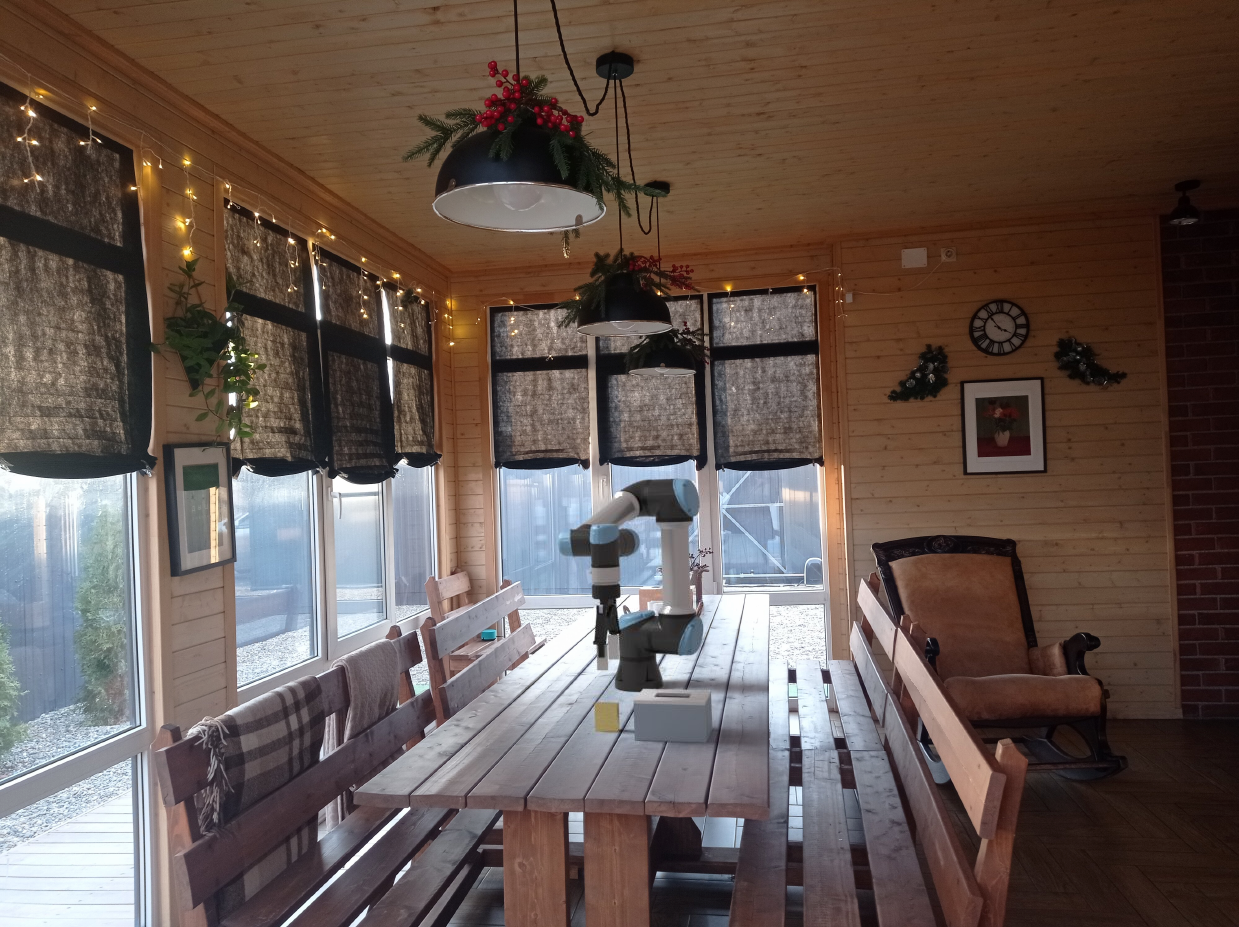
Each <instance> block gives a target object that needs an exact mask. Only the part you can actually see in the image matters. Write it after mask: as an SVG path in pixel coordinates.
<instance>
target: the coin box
mask: <svg viewBox="0 0 1239 927" xmlns="http://www.w3.org/2000/svg"><path fill="white" fill-rule="evenodd" d="M632 702H633V724H634V728H633V729H634V730H633V732H634V741H646V742H648V741H649V742H673V743H674V742H675V743H676V742H677V743H678V742H679V743H700V744H701V743H704V744H707V742H708V739H709V738H710V735H711V733H712V730H713V708H712V690H709V689H708V690H706V689H704V690H703V689H698V690H697V689H670V688H669V689H668V688H666V689H662V688H658V689H643V690H642V691H639V693H638V695H636V697H635V698H634V699H633V701H632Z"/></svg>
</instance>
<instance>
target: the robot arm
mask: <svg viewBox="0 0 1239 927" xmlns="http://www.w3.org/2000/svg"><path fill="white" fill-rule="evenodd" d="M700 505H701V503H700V496H699V492H698V490H697V487H696V485H695V483H694V482H693V480H690V479H688V478H678V477H676V478H660V479H658V478H657V479H656V478H655V479H651V478H649V479H643V480H639V481H635V482H633V483H632V484H629V485H627V486H626V487H623V488H622V489H620V490H619V491H618V492H616V493H615V494H614V495H613V496H612V498H611V501H610V502H609V503H607V505H604V507H602V508H601V509H600V510H598V511H597V512H596V513H595V514H593V515H592V516H591V517H589V518H588V519H587V520H585V522H584V523H582V524H581V525H580V526H578V527H576V528H575V529H573V528H569V529H564V530H562V531H561V532H560V533H559V534H558V537H557V538H558V539H557V547H558V550H559V554H561V555H562V556H564V557H572V558H575V557H577V558H578V557H579V558H582V557H585V558H586V557H589V558H590V567H591V569H590V570H589V574H590V575H591V582H592V583H593V584H592V585H591V597H592V599H593V600H599V604H596V606H595V609H596V610H595V612H596V613H595V616H596V617H595V628H594V640H593V641H592V644H593V646H594V645H595V646H596V670H597V671H609V660H619V662H618V666H617V670H616V674H615V677H614V687H615V689H618V690H621V691H627V692H641V691H642V690H643V689H656V688H658V689H661V688H662V687H663V685H664V683H663V676H662V672H661V669H660V668H659V667H660V666H659V665H658V660H657V655H674V656H679V657H682V656H693V655H694V654H696V653H698V651H699V649H700V647H701V644H702V642H703V641H702V640H703V637H704V636H703V635H704V622H703V620H702V618H701V617H699V616H697V611H696V609H695V608H694V606H692V604H691V602H692V601H691V569H690V538H689V537H690V535H689V534H690V532H689V528H690V527H691V525H692V524H693V523H694V517H696V516H698V515H699V513H700ZM643 517H644V518H645V517H650V518H651V517H652V518H653V517H654V518H655V524H656V525H657V526H658V527H659V528H660V545H661V546H660V547H661V548H660V550H661V552H660V553H661V554H660V555H661V582H662V583H661V584H662V585H661V586H662V607H661V608H660V609H659V610H658V611H657V612H658V614H657V615H656V613H655V611H654V610H652V609H651V610H650V609H646V610H639V611H631V612H628V613H625V614H621V615H620V616H619V614H618V608H617V606H618V605H617V601H618V600H617V599H619V598H621V596H622V595H621V584H620V583H619V582H621V565H620V564H621V562H620V558H625V557H626V558H628V557H630V556H631V555H634V554H636V553H637V552H638V550H639V548H640V546H641V545H640V544H641V540H640V537H639V534H638V533H637V532H636V531H635V530H633V529H632V528H627V527H625V528H624V527H623V528H621V526H623V525H624V524H625V523H627V522H631V521H633V520H635V519H636V518H643Z"/></svg>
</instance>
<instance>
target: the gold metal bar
mask: <svg viewBox="0 0 1239 927" xmlns="http://www.w3.org/2000/svg"><path fill="white" fill-rule="evenodd" d="M593 705H594V728H595V731H594V732H608V733H609V732H610V733H611V732H612V733H618V732H619V731H620V730H621V729H620V728H621V726H620V725H621V724H620V723H621V722H620V702H606V701H605V702H602V701H600V702H599V701H596V702H595V703H594V704H593Z"/></svg>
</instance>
